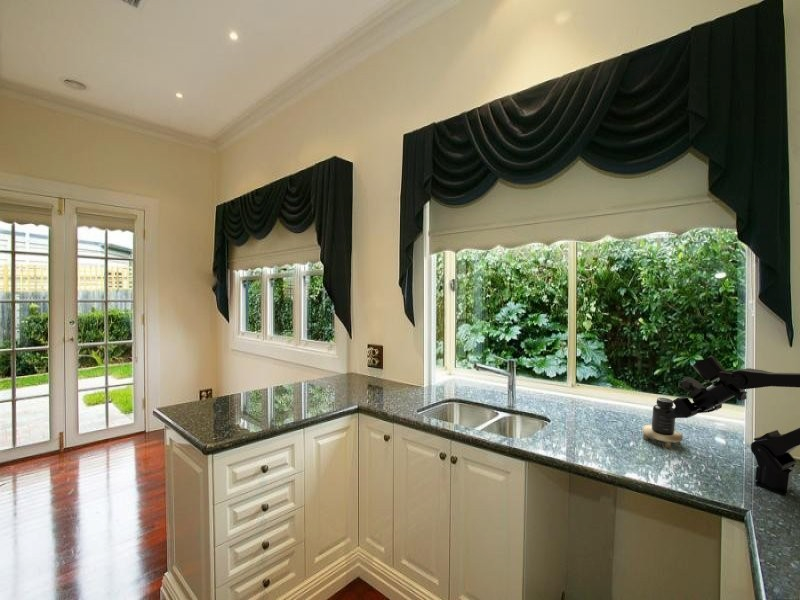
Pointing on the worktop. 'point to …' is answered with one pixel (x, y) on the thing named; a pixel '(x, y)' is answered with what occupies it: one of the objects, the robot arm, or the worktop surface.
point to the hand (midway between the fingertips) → (677, 414)
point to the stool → (662, 436)
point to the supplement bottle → (663, 417)
